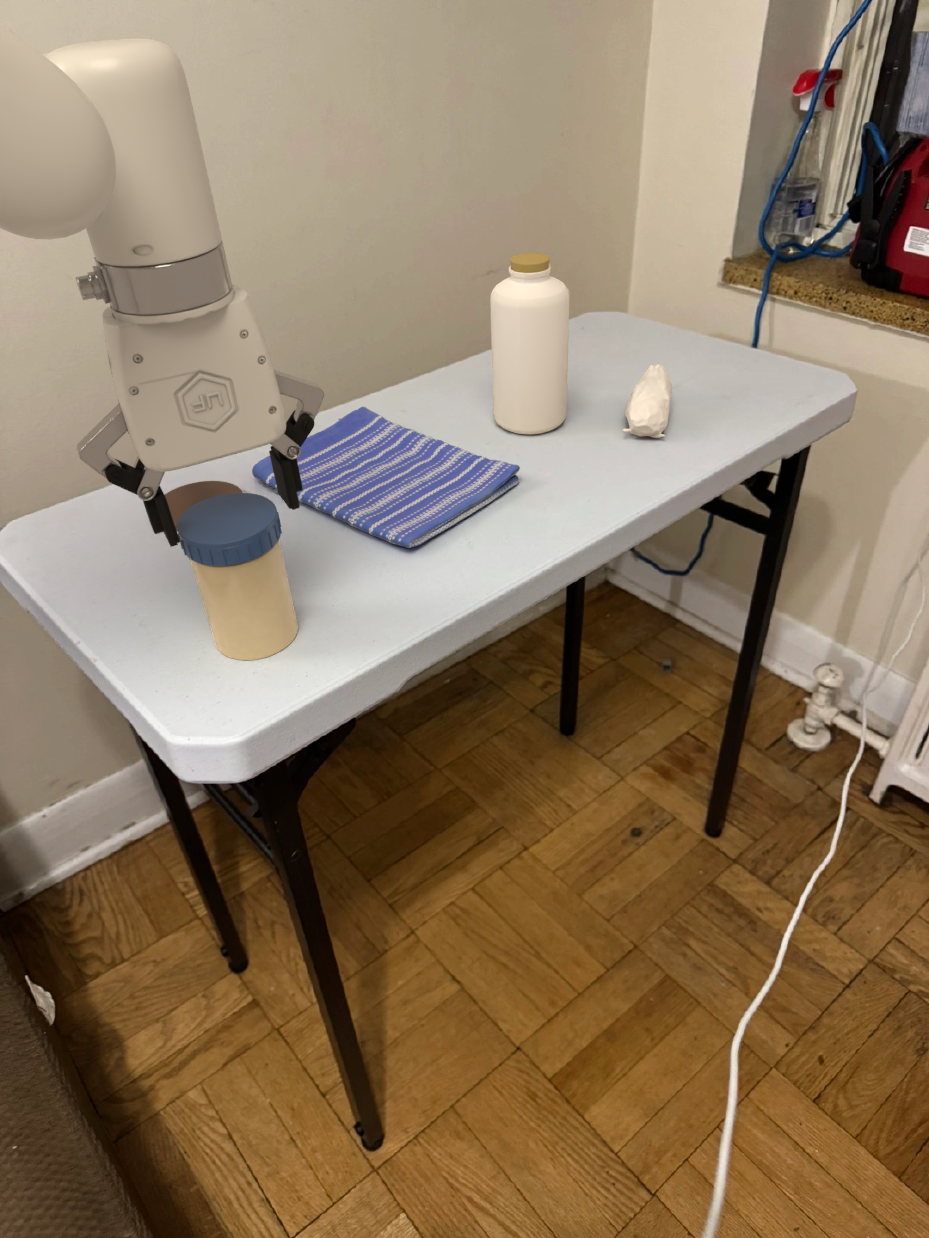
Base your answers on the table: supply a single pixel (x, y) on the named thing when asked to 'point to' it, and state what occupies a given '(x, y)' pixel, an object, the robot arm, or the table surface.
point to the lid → (229, 529)
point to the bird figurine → (650, 403)
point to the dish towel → (392, 478)
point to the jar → (248, 605)
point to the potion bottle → (530, 346)
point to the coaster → (196, 495)
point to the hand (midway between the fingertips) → (231, 518)
